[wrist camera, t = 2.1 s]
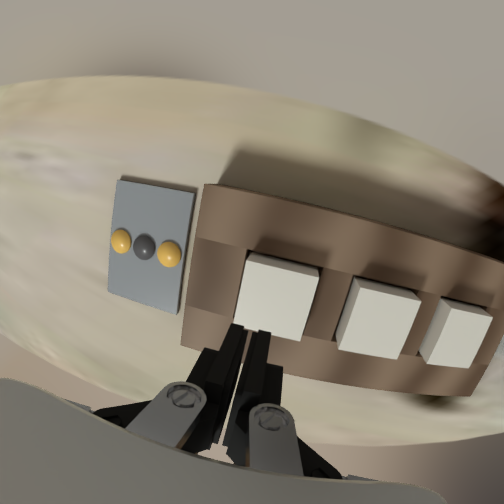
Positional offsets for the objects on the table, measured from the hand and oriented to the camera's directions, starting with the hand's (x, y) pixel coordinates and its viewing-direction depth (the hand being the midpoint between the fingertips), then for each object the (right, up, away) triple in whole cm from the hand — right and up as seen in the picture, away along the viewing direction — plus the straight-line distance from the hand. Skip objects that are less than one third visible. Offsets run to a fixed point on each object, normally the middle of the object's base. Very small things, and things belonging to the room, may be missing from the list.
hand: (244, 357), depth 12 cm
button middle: (+9, 0, +8) cm, 12 cm away
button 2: (+2, +2, +8) cm, 9 cm away
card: (-8, +5, +12) cm, 15 cm away
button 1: (+16, -2, +7) cm, 17 cm away
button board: (+9, +1, +10) cm, 13 cm away
